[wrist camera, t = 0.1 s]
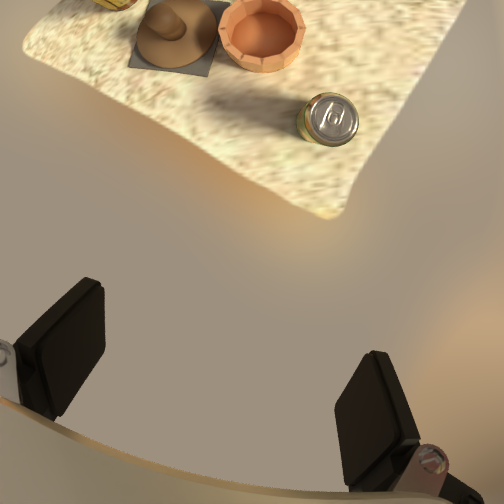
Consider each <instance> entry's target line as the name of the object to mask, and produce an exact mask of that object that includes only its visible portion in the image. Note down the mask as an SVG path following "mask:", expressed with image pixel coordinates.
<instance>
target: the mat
mask: <svg viewBox="0 0 504 504" xmlns="http://www.w3.org/2000/svg"><path fill="white" fill-rule="evenodd" d="M164 1H166V0H151V1H150V4H149V6H148V9H147V11H148V10H149V9H150V8H151V7H152V6H154V5H157V4H160V3H162V2H164ZM200 1H202V2H203V3H205V4H206V5H207V6H208V7H209V8H210V9H211V11H212V12H213V14H214V16H215V18H216V22H217V34H216V38H215V41H214V43H213V45H212V46H211V48H210V49H209V51H208V52H207V53H206V54H205V55H204V56H203V57H202V58H200V59H199V60H197V61H196V62H194V63H192V64H190V65H188V66H185V67H181V68H175V69H168V68H162V67H159V66H156V65H154V64H152V63H150V62H149V61H147V60H146V59H145V58H144V57H143V56H142V55H141V53H140V51H139V49H138V46H137V41H136V45H135V48H134V51H133V55H132V58H131V62H130V65H129V67H130V68H141V69H152V70H161V71H169V72H177V73H184V74H191V75H197V76H204V77H208V73H209V70H210V66H211V63H212V59H213V56H214V53H215V49H216V46H217V43H218V40H219V36H220V34H219V31H218V27H219V24H220V21H221V18H222V15H223V12H224V11H225V10H226V9H227V8H228V7H229V6H230V3H229V2H221V1H212V0H200Z"/></svg>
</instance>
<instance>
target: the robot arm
mask: <svg viewBox="0 0 504 504" xmlns="http://www.w3.org/2000/svg"><path fill="white" fill-rule="evenodd" d="M104 293H105V292H104V288H103V287H101V283H100V282H99V281H96V280H94V279H90V278H88V277H84V278H83V279H82V280H81V281H79V282H78V283H77V284H76V285H75V286H74V287H73V288H71V289H70V290H69V291H68V292H67V293H66V294H65V295H64V296H63V297H62V298H60V299H59V300H58V301H57V302H56V303H55V304H54V305H53V306H52V307H50V309H48V311H46V312H45V313H44V314H43V315H42V316H41V317H40V318H39V319H38V320H37V321H36V322H35V323H34V324H33V325H32V326H31V327H29V328H28V329H27V330H26V331H25V333H23V334H22V335H21V336H20V337H19V338H18V339H17V341H16V342H15V343H14V344H13V345H11V344H10V343H9V342H7V341H4V340H1V339H0V504H484V501H483V498H482V497H481V495H480V494H479V493H478V492H477V491H475V490H474V489H472V488H470V487H469V486H467V485H466V484H464V483H463V482H461V481H460V480H458V479H457V478H455V477H454V476H452V475H451V474H449V473H448V470H449V460H448V458H447V456H446V454H445V453H444V451H443V450H442V449H440V448H439V447H437V446H435V445H433V444H423V445H420V443H419V440H420V439H421V438H420V435H419V432H418V429H417V427H416V424H415V421H414V419H413V416H412V413H411V410H410V408H409V405H408V402H407V400H406V397H405V394H404V392H403V389H402V387H401V384H400V382H399V380H398V377H397V374H396V372H395V370H394V367H393V365H392V363H391V360H390V358H389V356H388V354H387V353H386V352H380V351H374V350H373V351H371V352H370V353H369V354H368V353H367V354H365V355H364V357H363V358H362V360H361V362H360V364H359V366H358V367H357V369H356V371H355V372H354V374H353V376H352V378H351V379H350V381H349V383H348V384H347V386H346V388H345V389H344V391H343V392H342V394H341V396H340V397H339V399H338V400H337V402H336V404H335V409H334V411H335V418H336V425H337V432H338V438H339V446H340V452H341V460H342V468H343V476H344V482H345V485H347V486H349V492H319V491H302V490H290V489H280V488H271V487H263V486H256V485H249V484H243V483H237V482H231V481H226V480H221V479H216V478H211V477H207V476H202V475H198V474H194V473H190V472H186V471H182V470H178V469H175V468H171V467H167V466H164V465H161V464H158V463H154V462H151V461H148V460H145V459H142V458H139V457H136V456H133V455H130V454H128V453H125V452H122V451H119V450H117V449H114V448H112V447H109V446H107V445H104V444H102V443H99V442H97V441H94V440H92V439H90V438H88V437H85V436H83V435H81V434H79V433H76V432H74V431H72V430H70V429H68V428H66V427H63V426H61V425H59V424H57V423H55V422H54V421H55V419H56V417H57V416H59V417H61V416H62V415H63V414H64V412H65V411H66V409H67V408H68V406H69V404H70V403H71V401H72V400H73V398H74V397H75V395H76V394H77V392H78V391H79V389H80V388H81V386H82V384H83V383H84V381H85V380H86V379H87V377H88V376H89V374H90V373H91V371H92V369H93V368H94V367H95V365H96V364H97V362H98V361H99V359H100V358H101V356H102V355H103V353H104V351H105V345H106V342H105V309H104V308H105V306H104V304H105V303H104V302H105V301H104V299H105V297H104V296H105V294H104Z"/></svg>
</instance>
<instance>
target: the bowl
mask: <svg viewBox="0 0 504 504" xmlns="http://www.w3.org/2000/svg"><path fill="white" fill-rule="evenodd" d="M305 29H306V27H305V24H304V21H303V19H302V16H301V13H300V11H299V9H297V8H296V7H295V6H294V5H292V4H291V3H290V2H288V1H287V0H236V1H235V2H234V3H233V4H232V5H230V6H229V7H228V8H227V9H226V10H225V11H224V12H223V15H222V18H221V21H220V24H219V27H218V31H219V34H220V37H221V40H222V44H223V47H224V49H225V50H226V52H227V53H228V55H229V56H230V57H231V58H232V59H233V60H234V61H235V62H236V63H237V64H238V65H240V66H241V67H243V68H244V69H247V70H249V71H253V72H258V73H270V72H275V71H278V70H280V69H283V68H285V67H286V66H288V65H289V64H290V63H291V62H292V61H293V60H294V59H295V58H296V57H297V56H298V54H299V50H300V47H301V43H302V40H303V36H304V33H305Z"/></svg>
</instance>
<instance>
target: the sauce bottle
mask: <svg viewBox="0 0 504 504" xmlns="http://www.w3.org/2000/svg"><path fill="white" fill-rule="evenodd" d="M92 1H94V2H96V3H98V4H100V5H101V6H103V7H105V8H108V9H110V10H115V11H116V10H125V9H127V8H129V7H130V6H132V5H133V4H134V3H135V2H136V1H137V0H92Z"/></svg>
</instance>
